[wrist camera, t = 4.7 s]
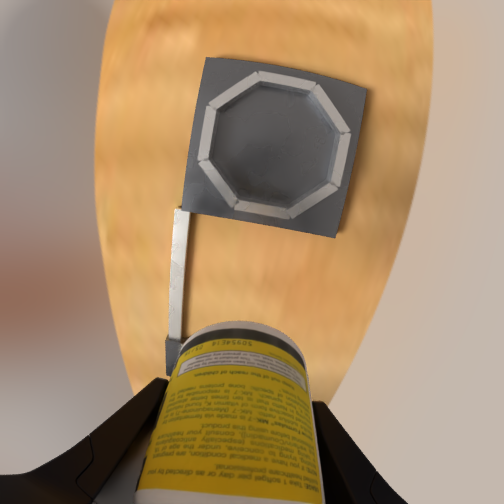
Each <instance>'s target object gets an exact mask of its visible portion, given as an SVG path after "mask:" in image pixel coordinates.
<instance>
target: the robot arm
mask: <svg viewBox="0 0 504 504" xmlns="http://www.w3.org/2000/svg"><path fill="white" fill-rule="evenodd" d="M168 384H169V382H168V380H167V379H163V378H159V377H157V378H155V379H154V380H153V381H151V382H150V383H149V384H148V385H147V386H146V387H145V388H143V389H142V390H141V391H140V392H139V393H138V394H136V395H135V396H134V397H133V398H132V399H131V400H129V401H128V402H127V403H126V404H125V405H124V406H122V407H121V408H120V409H119V410H118V411H116V412H115V413H114V414H113V415H112V416H111V417H109V418H108V419H107V420H106V421H104V422H103V423H102V424H101V425H100V426H98V427H97V428H96V429H95V430H94V431H93V432H91V433H90V434H89V435H88V436H86V437H85V438H84V439H82V440H81V441H80V442H79V443H77V444H76V445H75V446H73V447H72V448H71V449H69V450H67V451H66V452H64V453H63V454H61V455H59V456H58V457H56V458H54V459H52V460H51V461H49V462H47V463H45V464H43V465H42V466H40V467H38V468H36V469H34V470H32V471H30V472H27V473H23V474H13V475H0V504H134V493H135V490H136V485H137V480H138V478H139V475H140V471H141V468H142V464H143V460H144V457H145V454H146V451H147V448H148V445H149V441H150V438H151V435H152V432H153V429H154V426H155V422H156V418H157V416H158V412H159V409H160V406H161V404H162V401H163V398H164V395H165V392H166V389H167V387H168ZM312 408H313V414H314V421H315V429H316V436H317V444H318V450H319V457H320V464H321V472H322V480H323V488H324V496H325V504H408V503H407V502H406V501H405V500H404V499H402V498H401V497H400V496H399V495H398V494H397V493H396V492H395V491H394V490H393V489H392V488H391V487H390V486H389V484H388V483H387V482H386V481H385V480H384V479H383V477H382V476H381V475H380V474H379V473H378V472H377V471H376V469H375V468H374V466H373V465H372V464H371V463H370V461H369V460H368V459H367V458H366V456H365V455H364V454H363V452H362V451H361V450H360V449H359V447H358V446H357V445H356V444H355V442H354V441H353V440H352V438H351V437H350V436H349V434H348V433H347V432H346V431H345V429H344V428H343V427H342V425H341V424H340V423H339V421H338V420H337V419H336V417H335V416H334V415H333V413H332V412H331V411H330V409H329V408H328V407H327V405H326V404H325V403H324V402H322V401H312Z"/></svg>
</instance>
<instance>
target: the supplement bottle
mask: <svg viewBox="0 0 504 504" xmlns="http://www.w3.org/2000/svg"><path fill="white" fill-rule="evenodd" d="M134 504H325V496H324V488H323V480H322V472H321V464H320V457H319V450H318V444H317V436H316V429H315V421H314V414H313V408H312V401H311V394H310V387H309V379H308V374H307V368H306V362H305V359H304V356H303V354H302V353H301V351H300V349H299V348H298V346H297V345H296V344H295V343H294V342H293V341H292V340H291V339H290V338H289V337H288V336H287V335H285V334H284V333H282V332H281V331H279V330H277V329H275V328H272V327H270V326H267V325H264V324H260V323H255V322H249V321H228V322H221V323H217V324H213V325H210V326H208V327H205V328H203V329H201V330H199V331H197V332H196V333H194V334H193V335H192V336H191V337H189V339H188V340H187V341H186V342H185V343H184V345H183V346H182V348H181V350H180V352H179V355H178V357H177V360H176V363H175V366H174V368H173V371H172V375H171V378H170V381H169V384H168V387H167V389H166V392H165V395H164V398H163V401H162V404H161V406H160V409H159V412H158V416H157V418H156V422H155V426H154V429H153V432H152V435H151V438H150V441H149V445H148V448H147V451H146V454H145V457H144V460H143V464H142V468H141V471H140V475H139V478H138V480H137V485H136V490H135V493H134Z"/></svg>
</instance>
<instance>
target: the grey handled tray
mask: <svg viewBox="0 0 504 504" xmlns="http://www.w3.org/2000/svg"><path fill="white" fill-rule="evenodd" d="M366 92H367V89H365V88H362V87H359V86H356V85H353V84H350V83H347V82H344V81H340V80H337V79H333V78H330V77H326V76H322V75H318V74H314V73H310V72H306V71H301V70H297V69H292V68H287V67H282V66H276V65H270V64H264V63H258V62H250V61H243V60H234V59H223V58H210V57H206V60H205V65H204V69H203V74H202V79H201V84H200V88H199V94H198V99H197V104H196V109H195V115H194V121H193V127H192V133H191V139H190V145H189V152H188V159H187V166H186V174H185V182H184V190H183V198H182V207H177V208H175V215H174V226H173V239H172V253H171V270H170V293H169V335H168V336H167V338H166V340H165V345H166V375H167V376H171V375H172V371H173V368H174V366H175V363H176V360H177V357H178V355H179V352H180V350H181V348H182V346H183V345H184V343H185V342H186V341H187V340H188V339H186V338H182V321H183V302H184V286H185V273H186V260H187V249H188V239H189V229H190V219H191V212H192V213H198V214H204V215H211V216H217V217H223V218H229V219H234V220H240V221H246V222H252V223H257V224H263V225H268V226H274V227H279V228H285V229H290V230H295V231H301V232H306V233H311V234H316V235H321V236H326V237H331V238H335V237H336V234H337V230H338V226H339V222H340V219H341V215H342V211H343V207H344V203H345V199H346V194H347V190H348V186H349V182H350V177H351V173H352V168H353V163H354V159H355V154H356V149H357V144H358V139H359V133H360V128H361V122H362V117H363V111H364V105H365V98H366Z"/></svg>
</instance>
